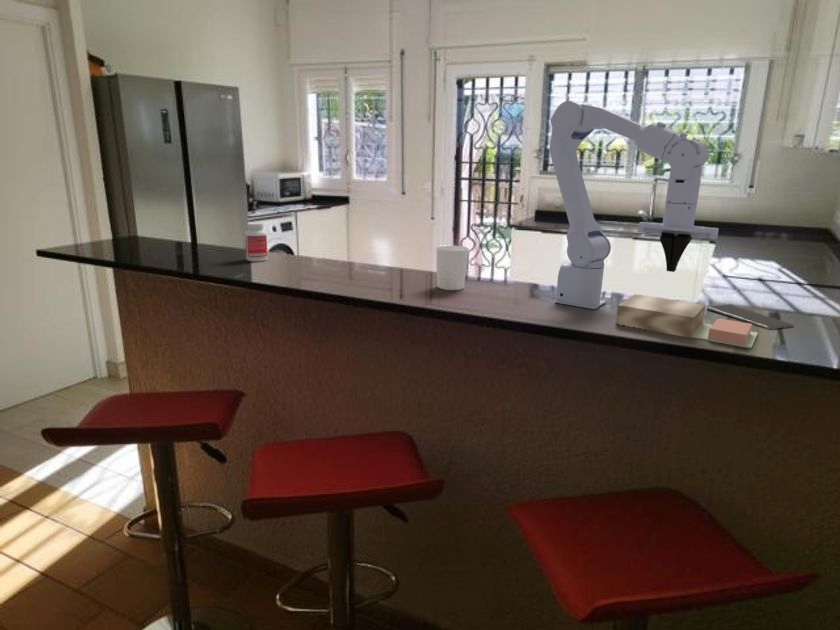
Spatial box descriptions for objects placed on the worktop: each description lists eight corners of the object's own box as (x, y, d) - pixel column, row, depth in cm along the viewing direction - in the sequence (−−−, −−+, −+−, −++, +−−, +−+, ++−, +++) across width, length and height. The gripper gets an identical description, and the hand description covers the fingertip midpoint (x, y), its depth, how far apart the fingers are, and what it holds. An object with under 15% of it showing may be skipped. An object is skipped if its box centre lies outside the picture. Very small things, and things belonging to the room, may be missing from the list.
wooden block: (615, 324, 115) (617, 305, 114) (632, 312, 124) (634, 294, 123) (690, 338, 107) (693, 317, 106) (702, 323, 117) (705, 305, 116)
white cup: (428, 287, 143) (429, 247, 140) (448, 282, 149) (450, 244, 146) (452, 292, 138) (454, 251, 135) (472, 287, 143) (474, 248, 141)
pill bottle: (271, 260, 172) (269, 223, 169) (253, 262, 168) (251, 225, 165) (261, 257, 176) (259, 221, 173) (242, 259, 172) (240, 222, 169)
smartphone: (770, 327, 114) (705, 306, 128) (768, 332, 114) (704, 310, 128) (795, 324, 116) (730, 304, 131) (794, 329, 117) (729, 308, 131)
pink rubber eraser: (746, 334, 102) (744, 345, 103) (752, 323, 109) (750, 333, 110) (709, 328, 105) (707, 338, 106) (717, 318, 113) (716, 327, 113)
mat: (690, 337, 108) (691, 335, 108) (701, 324, 116) (702, 323, 116) (751, 348, 102) (751, 346, 102) (757, 334, 111) (758, 332, 111)
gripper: (637, 201, 113) (629, 268, 117) (718, 206, 105) (706, 278, 109) (647, 199, 119) (638, 264, 122) (724, 204, 111) (712, 273, 115)
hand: (671, 270), depth 116 cm, fingers closed
